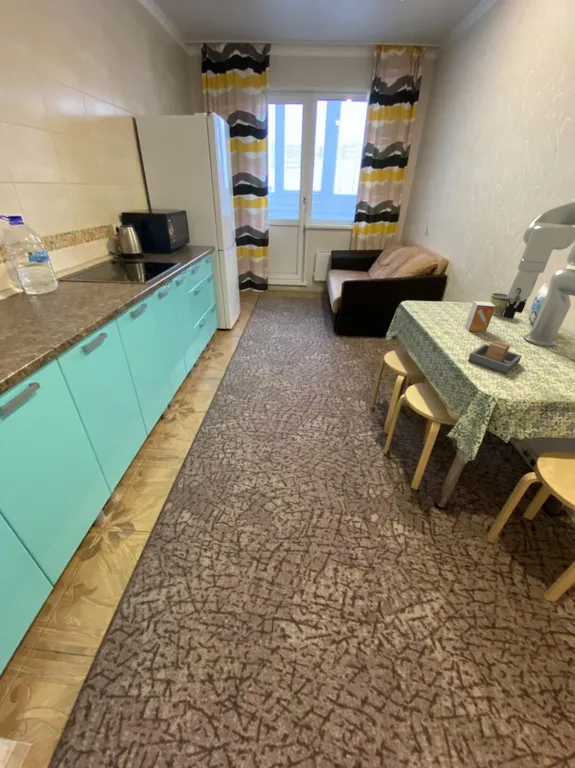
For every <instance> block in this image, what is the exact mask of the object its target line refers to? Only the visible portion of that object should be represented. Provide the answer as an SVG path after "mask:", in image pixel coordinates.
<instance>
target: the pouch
mask: <svg viewBox="0 0 575 768" xmlns="http://www.w3.org/2000/svg"><path fill="white" fill-rule="evenodd" d="M548 289H549V284H547V283H546V282H545V283H544V284H543V285H542V286H541V287H540V288H539V289H538V291H537V293H536V295H535V296H534V299H533V301H532V303H531V306H530V309H529V313H528V317H527V318H528V321H529V322H530V323H531V324H532V326H533V325H534V322H535V320H536V318H537V316H538V313H539V311H540V309H541V307H542V305H543V302H544V300H545V298H546V295H547V292H548Z"/></svg>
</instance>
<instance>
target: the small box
mask: <svg viewBox="0 0 575 768" xmlns="http://www.w3.org/2000/svg"><path fill="white" fill-rule="evenodd" d="M495 307H496V306H495V305H493V304H492V303H491V301H475V300H473V301H472V304H471V306H470V310H469V313H468V317H467V319H466V321H465V325H464V327H465V328H466V329H468V330H467V331H468V332H479V333H486V332H487V330H488V328H489V326H490V322H491V319H492V317H493V316H494V315H493V312H494V310H495Z"/></svg>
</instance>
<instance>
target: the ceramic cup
mask: <svg viewBox="0 0 575 768" xmlns="http://www.w3.org/2000/svg"><path fill="white" fill-rule="evenodd" d="M507 296H508V294H506V293H500V292H493V293H491V297H490V302H491V303H492V304H493V305H495V306H496V307H495V310H494V312H493V315H492V316H498V317H499V316H503V315H504V312H505V309H506V307H507V305H508V303H509V301H510V299H511V298H510V299H507Z"/></svg>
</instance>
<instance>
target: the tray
mask: <svg viewBox="0 0 575 768" xmlns="http://www.w3.org/2000/svg"><path fill="white" fill-rule="evenodd" d="M489 346H490V344H486V343H483V344H482V345H481V346H479V347H477V348H476V349H474V350H473V351H472V352H470V353H469V357H468V359H467V362H469V363H471V362H472V363H471V364H474V365H477V366H480V367H483V368H486V369H489V370H492V371H494V372H496V373H500V374H503V375H505V376H506V375H507V374H509V373H510V372H511V371H512V370H514V368H515V367H516V366H517V365H519V362H520V361H521V359H522V355H521V354H518V353H514V352H512V351H509V350H508V352H507V355H506V357H505V359H504V361H503V362H502V363H501V362H498V361H495V360H492V359H489V358H486V357H485V356H486V353H487V351H488V348H489Z"/></svg>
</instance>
